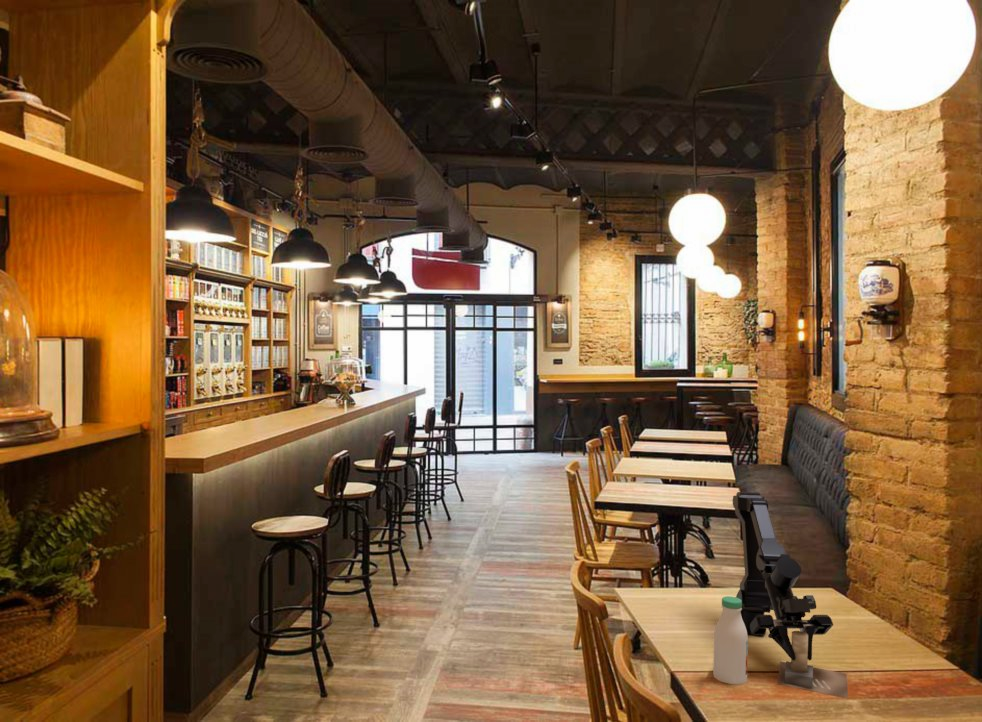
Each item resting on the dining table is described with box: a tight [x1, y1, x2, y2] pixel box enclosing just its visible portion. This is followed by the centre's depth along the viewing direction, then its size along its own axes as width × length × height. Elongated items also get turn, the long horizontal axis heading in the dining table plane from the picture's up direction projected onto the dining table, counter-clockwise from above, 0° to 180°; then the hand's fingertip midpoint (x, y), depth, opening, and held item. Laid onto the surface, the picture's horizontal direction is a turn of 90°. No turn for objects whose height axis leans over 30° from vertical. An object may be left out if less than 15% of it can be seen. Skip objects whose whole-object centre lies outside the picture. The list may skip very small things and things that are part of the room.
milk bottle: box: [712, 596, 749, 685], centre depth 172 cm, size 8×8×20 cm
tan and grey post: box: [785, 630, 814, 688], centre depth 171 cm, size 6×7×11 cm
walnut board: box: [776, 661, 849, 699], centre depth 172 cm, size 15×14×1 cm
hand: (802, 659), depth 170 cm, fingers closed on tan and grey post, 4 cm apart
